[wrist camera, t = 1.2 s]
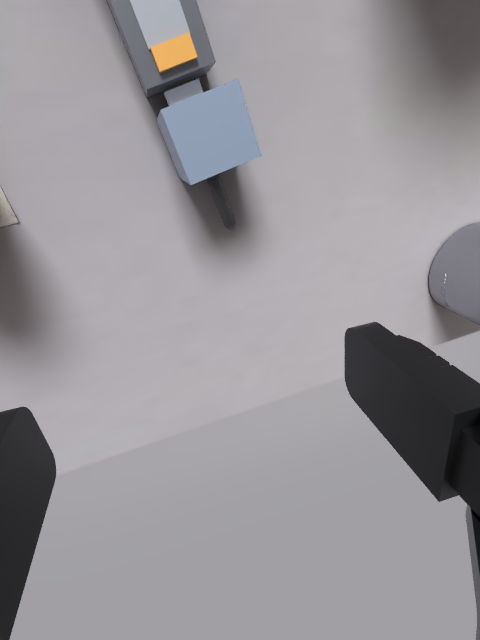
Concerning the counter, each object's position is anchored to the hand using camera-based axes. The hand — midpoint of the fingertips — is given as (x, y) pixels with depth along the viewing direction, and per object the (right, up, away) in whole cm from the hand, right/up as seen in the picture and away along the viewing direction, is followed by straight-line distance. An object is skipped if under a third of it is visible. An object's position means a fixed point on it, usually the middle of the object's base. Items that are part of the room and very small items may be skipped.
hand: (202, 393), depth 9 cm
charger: (-2, +14, +18) cm, 22 cm away
